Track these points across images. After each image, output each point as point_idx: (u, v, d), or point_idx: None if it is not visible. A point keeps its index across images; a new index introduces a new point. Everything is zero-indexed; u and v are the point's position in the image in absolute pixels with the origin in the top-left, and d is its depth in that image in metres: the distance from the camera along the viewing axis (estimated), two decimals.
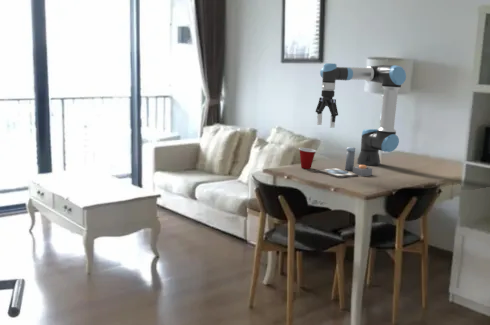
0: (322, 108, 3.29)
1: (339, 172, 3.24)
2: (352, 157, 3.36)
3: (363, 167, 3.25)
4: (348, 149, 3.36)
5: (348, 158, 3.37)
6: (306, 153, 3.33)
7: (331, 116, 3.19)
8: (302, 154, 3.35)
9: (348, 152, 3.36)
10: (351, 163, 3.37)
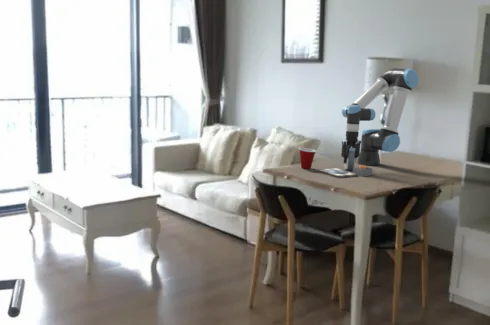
0: None
1: (339, 172, 3.24)
2: (352, 157, 3.36)
3: (363, 167, 3.25)
4: None
5: None
6: (306, 153, 3.33)
7: None
8: (302, 154, 3.35)
9: None
10: (351, 163, 3.37)
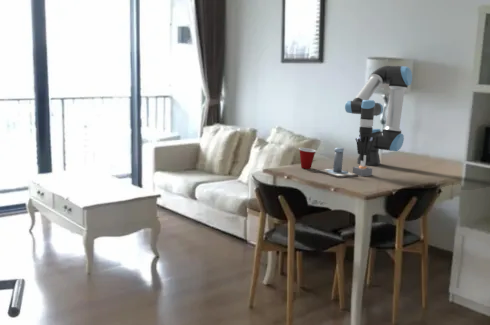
0: (365, 147, 3.26)
1: None
2: (340, 158, 3.23)
3: (363, 168, 3.25)
4: (336, 150, 3.22)
5: (336, 159, 3.23)
6: (306, 153, 3.33)
7: None
8: (302, 154, 3.35)
9: (336, 153, 3.23)
10: (339, 164, 3.23)
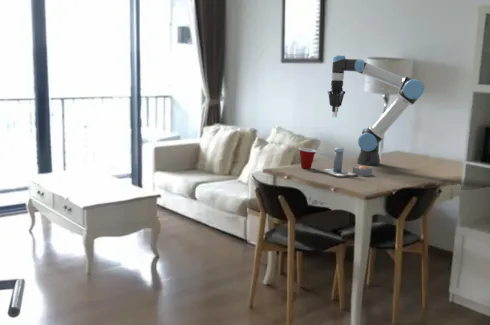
0: (336, 99, 3.54)
1: None
2: (340, 158, 3.23)
3: (363, 168, 3.25)
4: (336, 150, 3.22)
5: (336, 159, 3.23)
6: (306, 153, 3.33)
7: None
8: (302, 154, 3.35)
9: (336, 153, 3.23)
10: (339, 164, 3.23)
